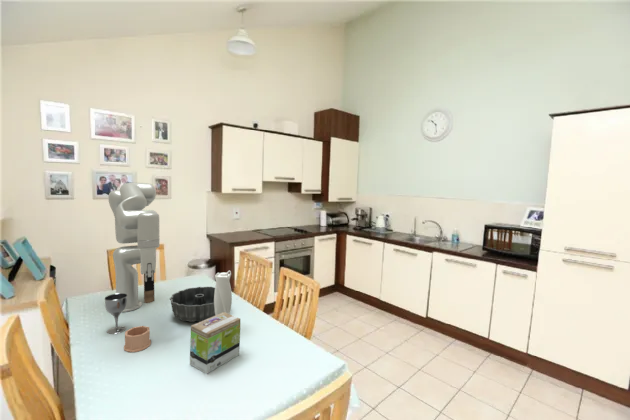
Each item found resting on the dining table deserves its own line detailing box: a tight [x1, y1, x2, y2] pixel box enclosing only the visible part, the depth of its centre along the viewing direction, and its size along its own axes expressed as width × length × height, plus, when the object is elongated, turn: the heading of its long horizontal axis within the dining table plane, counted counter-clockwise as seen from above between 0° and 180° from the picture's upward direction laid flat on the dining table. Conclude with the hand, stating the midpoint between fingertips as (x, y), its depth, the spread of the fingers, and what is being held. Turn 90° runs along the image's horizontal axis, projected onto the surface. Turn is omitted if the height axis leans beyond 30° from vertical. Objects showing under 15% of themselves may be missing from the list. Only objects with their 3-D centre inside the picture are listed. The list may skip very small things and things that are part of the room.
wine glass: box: [104, 293, 127, 335], centre depth 126 cm, size 8×8×15 cm
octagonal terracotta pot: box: [123, 325, 152, 353], centre depth 115 cm, size 9×9×6 cm
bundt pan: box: [169, 286, 215, 323], centre depth 144 cm, size 26×26×10 cm
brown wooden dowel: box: [143, 267, 155, 304], centre depth 116 cm, size 4×4×14 cm
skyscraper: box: [214, 270, 233, 315], centre depth 127 cm, size 8×8×28 cm
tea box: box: [189, 312, 241, 375], centre depth 108 cm, size 15×10×15 cm, turn 148°
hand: (149, 288), depth 117 cm, fingers closed on brown wooden dowel, 3 cm apart
